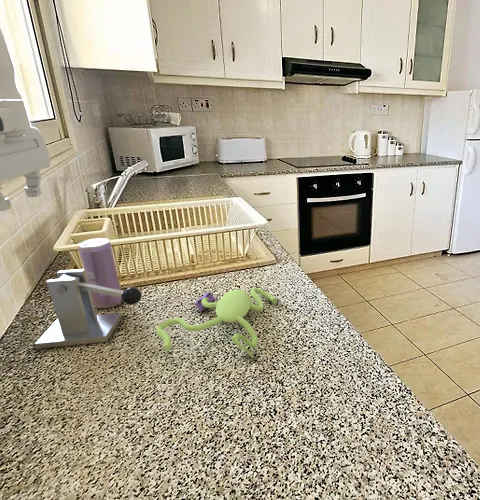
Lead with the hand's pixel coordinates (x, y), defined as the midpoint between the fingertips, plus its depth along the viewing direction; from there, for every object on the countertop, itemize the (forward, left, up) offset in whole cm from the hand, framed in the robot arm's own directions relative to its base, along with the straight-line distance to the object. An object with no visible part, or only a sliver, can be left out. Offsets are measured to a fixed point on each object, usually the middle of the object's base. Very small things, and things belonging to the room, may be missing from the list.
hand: (20, 202), depth 65 cm
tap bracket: (+4, 0, -27) cm, 27 cm away
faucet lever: (+9, 0, -20) cm, 21 cm away
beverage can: (+5, +12, -27) cm, 30 cm away
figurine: (+32, -4, -27) cm, 42 cm away
